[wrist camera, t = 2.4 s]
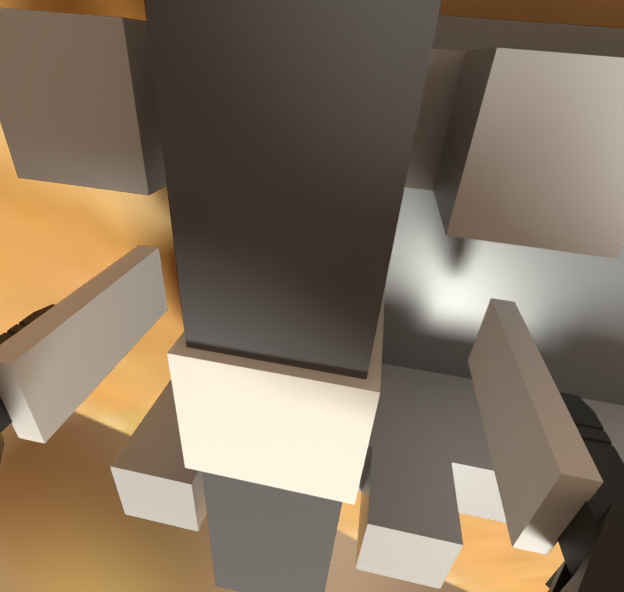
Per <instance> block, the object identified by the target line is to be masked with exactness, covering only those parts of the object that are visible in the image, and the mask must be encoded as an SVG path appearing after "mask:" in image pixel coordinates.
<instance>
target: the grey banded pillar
mask: <svg viewBox="0 0 624 592" xmlns="http://www.w3.org/2000/svg"><path fill="white" fill-rule="evenodd" d="M144 2H145V10H146V18H147V26H148V35H149V43H150V51H151V59H152V68H153V76H154V84H155V92H156V100H157V109H158V117H159V125H160V133H161V141H162V150H163V158H164V166H165V174H166V183H167V191H168V199H169V207H170V215H171V224H172V232H173V240H174V248H175V256H176V265H177V273H178V281H179V289H180V298H181V306H182V314H183V322H184V330H185V331H184V332H183V334H182V335H181V336H180V338H179V339H178V340H177V341H176V343H175V344H174V345H173V347H172V348H171V349H170V350H169V352H168V353H167V355H168V362H169V368H170V374H171V381H172V387H173V394H174V400H175V406H176V413H177V419H178V426H179V432H180V438H181V445H182V451H183V457H184V464H185V468H189V469H193V470H198V471H202V478H203V486H204V495H205V503H206V511H207V519H208V528H209V536H210V544H211V552H212V560H213V569H214V577H215V585H216V586H219V587H223V588H226V589H231V590H235V591H238V592H324V591H325V586H326V581H327V576H328V571H329V566H330V561H331V555H332V551H333V546H334V540H335V535H336V531H337V526H338V521H339V516H340V511H341V506H342V502H344V503H349V504H354V505H355V501H356V497H357V492H358V488H359V483H360V479H361V475H362V470H363V466H364V462H365V457H366V453H367V448H368V444H369V440H370V435H371V431H372V427H373V422H374V418H375V414H376V409H377V405H378V400H379V396H380V388H381V367H382V345H383V323H384V301H385V284H386V279H387V274H388V269H389V264H390V259H391V254H392V249H393V243H394V238H395V233H396V228H397V223H398V218H399V213H400V208H401V203H402V198H403V193H404V188H405V183H406V178H407V173H408V168H409V163H410V158H411V153H412V148H413V143H414V138H415V133H416V128H417V123H418V117H419V112H420V107H421V102H422V97H423V92H424V87H425V82H426V77H427V72H428V67H429V62H430V57H431V52H432V47H433V42H434V37H435V32H436V27H437V22H438V17H439V12H440V7H441V2H442V0H144Z"/></svg>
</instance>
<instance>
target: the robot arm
mask: <svg viewBox="0 0 624 592" xmlns="http://www.w3.org/2000/svg"><path fill="white" fill-rule="evenodd" d="M167 310H168V309H167V302H166V295H165V288H164V281H163V274H162V267H161V260H160V253H159V248H158V247H151V246H145V245H138V246H137V247H136V248H134V249H133V250H131V251H130V252H129V253H127V254H126V255H124V256H123V257H122V258H120V259H119V260H118V261H116V262H115V263H113V264H112V265H111V266H109V267H108V268H106V269H105V270H104V271H102V272H101V273H99V274H98V275H97V276H95V277H94V278H92V279H91V280H90V281H88V282H87V283H85V284H84V285H83V286H81V287H80V288H79V289H77V290H76V291H74V292H73V293H72V294H70V295H69V296H67V297H66V298H65V299H63V300H62V301H60V302H59V303H58V304H56V305H54V304H52V305H50V306H47V307H45V308H43V309H40V310H38V311H35V312H33V313H32V314H31V315H29V316H28V317H26V318H25V319H23V320H22V321H20V322H19V325H18V324H16V325H15V326H13V327H12V328H10V329H9V330H8V331H7V333H3V334H2V335H0V462H1V457H2V452H3V447H4V438H3V435H2V434H1V432H2V431H3V430H4V429H5V428H6V427H7V426H8V425H9V424H10V423H12V425H13V427H14V429H15V431H16V433H17V435H18V437H19V438H23V439H27V440H31V441H36V442H41V443H46V441H47V440H48V439H49V438H50V437H51V436H52V435H53V434H54V433H55V432H56V431H57V429H58V428H59V427H60V426H61V425H62V424H63V423H64V422H65V421H66V420H67V419H68V417H69V416H70V415H71V414H72V413H73V412H74V411H75V410H76V409H77V408H78V407H79V405H80V404H81V403H82V402H83V401H84V400H85V399H86V398H87V397H88V396H89V395H90V393H91V392H92V391H93V390H94V389H95V388H96V387H97V386H98V385H99V384H100V383H101V381H102V380H103V379H104V378H105V377H106V376H107V375H108V374H109V373H110V372H111V371H112V369H113V368H114V367H115V366H116V365H117V364H118V363H119V362H120V361H121V360H122V359H123V358H124V356H125V355H126V354H127V353H128V352H129V351H130V350H131V349H132V348H133V347H134V346H135V344H136V343H137V342H138V341H139V340H140V339H141V338H142V337H143V336H144V335H145V334H146V332H147V331H148V330H149V329H150V328H151V327H152V326H153V325H154V324H155V323H156V322H157V320H158V319H159V318H160V317H161V316H162V315H163V314H164V313H165V312H166V311H167ZM468 364H469V368H470V372H471V376H472V380H473V385H474V389H475V393H476V397H477V401H478V405H479V410H480V414H481V418H482V422H483V426H484V431H485V435H486V439H487V443H488V447H489V451H490V456H491V460H492V464H493V468H494V472H495V476H496V481H497V485H498V489H499V493H500V497H501V502H502V506H503V510H504V514H505V518H506V522H507V527H508V531H509V535H510V539H511V543H512V547H514V548H519V549H523V550H528V551H532V552H537V553H541V554H546V555H548V554H549V552H550V551H551V550H552V548H553V547H554V546H555V544H556V543H557V542H559V545H560V548H561V551H562V554H563V556H564V559H565V561H564V562H563V563H562V565H561V566H560V567H559V568H558V569H557V571H556V572H555V573H554V574H553V575H552V577H551V578H550V579H549V580H548V581H547V583H546V584H545V585H547V586H548V587H549V591H548V592H624V463H623V461H622V459H621V458H620V456H619V454H618V452H617V451H616V449H615V447H614V446H612V445H611V444H612V442H611V440H610V438H609V436H608V435H607V433H606V432H605V431H604V428H603V426H602V424H601V422H600V420H599V419H598V417H597V415H596V413H595V412H594V411H593V410H592V409H591V408H590V407H589V406H588V405H587V404H586V403H585V402H584V401H583V400H582V399H581V398H580V397H579V396H578V395H573V394H567V393H562V392H559V391H558V389H557V387H556V385H555V383H554V381H553V379H552V376H551V374H550V372H549V370H548V368H547V366H546V364H545V362H544V360H543V358H542V356H541V354H540V352H539V350H538V348H537V346H536V344H535V342H534V340H533V338H532V336H531V334H530V332H529V330H528V328H527V326H526V324H525V322H524V320H523V318H522V316H521V314H520V311H519V309H518V307H517V305H516V303H515V302H513V301H507V300H500V299H494V298H491V299H490V302H489V305H488V307H487V310H486V313H485V315H484V318H483V321H482V324H481V326H480V329H479V332H478V334H477V337H476V340H475V343H474V345H473V348H472V351H471V353H470V356H469V359H468Z"/></svg>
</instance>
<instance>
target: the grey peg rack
mask: <svg viewBox="0 0 624 592" xmlns="http://www.w3.org/2000/svg"><path fill="white" fill-rule="evenodd" d="M0 122H1V125H2V128H3V131H4V135H5V138H6V141H7V144H8V147H9V150H10V153H11V157H12V160H13V163H14V166H15V169H16V172H17V175H18V178H24V179H32V180H39V181H46V182H54V183H61V184H69V185H76V186H83V187H91V188H98V189H106V190H113V191H120V192H128V193H135V194H142V195H150V194H152V193H154V192H156V191H157V190H159V189H161V188H163V187H165V186H167V183H166V174H165V166H164V158H163V150H162V141H161V133H160V125H159V117H158V109H157V100H156V92H155V84H154V76H153V68H152V59H151V51H150V43H149V35H148V26H147V21H142V20H135V19H129V18H122V17H110V16H97V15H85V14H72V13H60V12H47V11H35V10H23V9H10V8H0ZM491 298H494V299H500V300H507V301H513V302H515V303H516V305H517V307H518V309H519V311H520V314H521V316H522V318H523V320H524V322H525V324H526V326H527V328H528V330H529V332H530V334H531V336H532V338H533V340H534V342H535V344H536V346H537V348H538V350H539V352H540V354H541V356H542V358H543V360H544V362H545V364H546V366H547V368H548V370H549V372H550V374H551V376H552V379H553V381H554V383H555V385H556V387H557V389H558V391H559V392H562V393H567V394H573V395H578V396H579V397H580V398H581V399H582V400H583V401H584V402H585V403H586V404H587V405H588V406H589V407H590V408H591V409H592V410H593V411H594V412H595V413H596V415H597V417H598V419H599V420H600V422H601V424H602V426H603V428H604V431H605V432H606V433H607V435H608V436H609V438H610V440H611V442H612V444H611V445H612V446H614V447H615V449H616V451H617V452H618V454H619V456H620V458H621V459H622V461H623V463H624V28H610V27H597V26H583V25H569V24H555V23H541V22H527V21H514V20H500V19H486V18H472V17H458V16H444V15H439V17H438V22H437V27H436V32H435V37H434V42H433V47H432V52H431V57H430V62H429V67H428V72H427V77H426V82H425V87H424V92H423V97H422V102H421V107H420V112H419V117H418V123H417V128H416V133H415V138H414V143H413V148H412V153H411V158H410V163H409V168H408V173H407V178H406V183H405V188H404V193H403V198H402V203H401V208H400V213H399V218H398V223H397V228H396V233H395V238H394V243H393V249H392V254H391V259H390V264H389V269H388V274H387V279H386V284H385V301H384V323H383V345H382V367H381V388H380V396H379V400H378V405H377V409H376V414H375V418H374V422H373V427H372V431H371V435H370V440H369V444H368V448H367V453H366V457H365V462H364V466H363V470H362V475H361V479H360V483H359V488H358V491H359V492H361V504H360V517H359V530H358V542H357V555H356V569H359V570H363V571H367V572H372V573H376V574H380V575H384V576H388V577H392V578H397V579H401V580H405V581H409V582H413V583H418V584H422V585H426V586H430V587H435V588H439V589H440V587H441V585H442V584H443V582H444V580H445V578H446V576H447V574H448V572H449V571H450V569H451V567H452V565H453V563H454V561H455V559H456V557H457V556H458V554H459V552H460V550H461V548H462V546H463V541H462V533H461V526H460V519H459V513H462V514H467V515H472V516H476V517H481V518H486V519H490V520H495V521H500V522H504V523H507V522H506V518H505V514H504V510H503V506H502V502H501V497H500V493H499V489H498V485H497V481H496V476H495V472H494V468H493V464H492V460H491V456H490V451H489V447H488V443H487V439H486V435H485V431H484V426H483V422H482V418H481V414H480V410H479V405H478V401H477V397H476V393H475V389H474V385H473V380H472V376H471V372H470V368H469V364H468V359H469V356H470V353H471V351H472V348H473V345H474V343H475V340H476V337H477V334H478V332H479V329H480V326H481V324H482V321H483V318H484V315H485V313H486V310H487V307H488V305H489V302H490V299H491ZM110 468H111V471H112V474H113V477H114V480H115V483H116V486H117V490H118V493H119V496H120V499H121V502H122V505H123V509H124V511H125V514H127V515H131V516H135V517H139V518H144V519H148V520H152V521H156V522H161V523H165V524H169V525H173V526H177V527H182V528H186V529H190V530H194V531H199V529H200V527H201V524H202V522H203V519H204V517H205V515H206V512H207V511H206V503H205V495H204V486H203V478H202V471H198V470H193V469H189V468H185V464H184V457H183V451H182V445H181V438H180V432H179V426H178V419H177V413H176V406H175V400H174V394H173V387H172V381H171V380H170V382H169V383H168V385H167V386H166V387H165V389H164V390H163V392H162V393H161V395H160V396H159V397H158V399H157V400H156V402H155V403H154V405H153V406H152V407H151V409H150V410H149V412H148V413H147V414H146V416H145V417H144V419H143V420H142V422H141V423H140V424H139V426H138V427H137V429H136V430H135V432H134V433H133V434H132V436H131V437H130V439H129V440H128V442H127V443H126V445H125V446H124V447H123V449H122V450H121V452H120V453H119V454H118V456H117V457H116V459H115V460H114V461H113V463H112V464H111V466H110Z"/></svg>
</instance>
